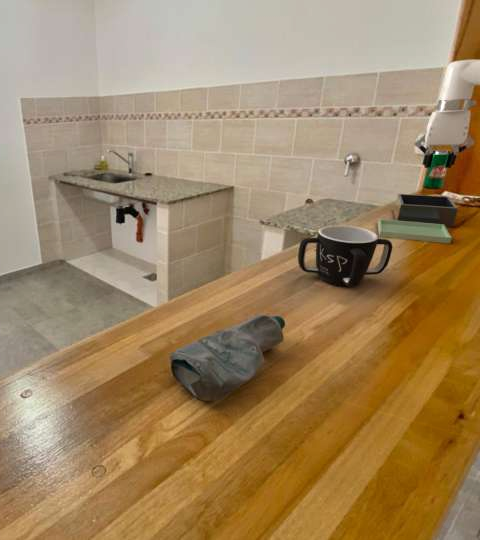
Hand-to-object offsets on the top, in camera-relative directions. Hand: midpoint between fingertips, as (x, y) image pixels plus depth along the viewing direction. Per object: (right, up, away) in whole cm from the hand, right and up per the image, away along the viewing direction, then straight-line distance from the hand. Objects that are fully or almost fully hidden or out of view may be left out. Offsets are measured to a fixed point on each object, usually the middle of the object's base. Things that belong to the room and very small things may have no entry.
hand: (437, 166), depth 123 cm
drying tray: (-12, -22, -4) cm, 25 cm away
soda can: (+1, -6, +3) cm, 7 cm away
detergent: (-82, -50, -56) cm, 112 cm away
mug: (-49, -36, -29) cm, 67 cm away
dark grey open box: (+1, -16, +8) cm, 18 cm away
